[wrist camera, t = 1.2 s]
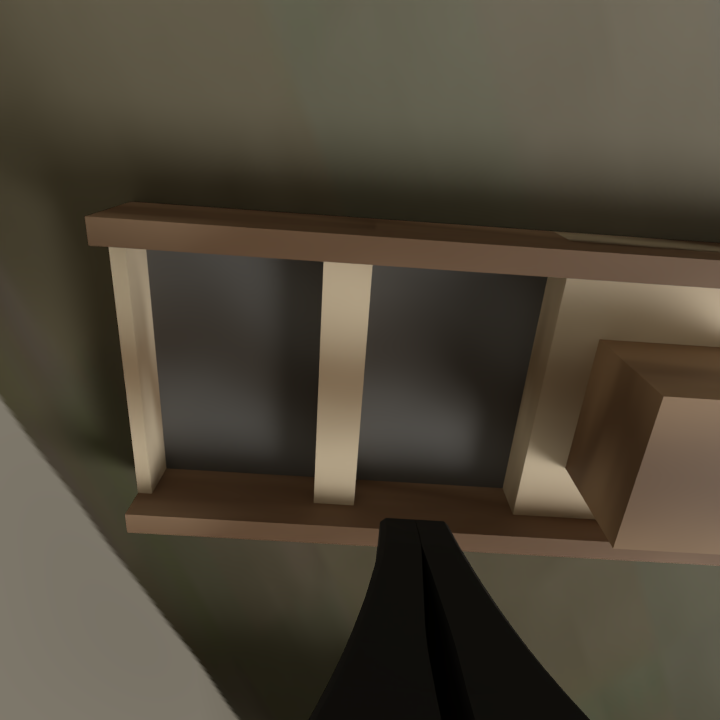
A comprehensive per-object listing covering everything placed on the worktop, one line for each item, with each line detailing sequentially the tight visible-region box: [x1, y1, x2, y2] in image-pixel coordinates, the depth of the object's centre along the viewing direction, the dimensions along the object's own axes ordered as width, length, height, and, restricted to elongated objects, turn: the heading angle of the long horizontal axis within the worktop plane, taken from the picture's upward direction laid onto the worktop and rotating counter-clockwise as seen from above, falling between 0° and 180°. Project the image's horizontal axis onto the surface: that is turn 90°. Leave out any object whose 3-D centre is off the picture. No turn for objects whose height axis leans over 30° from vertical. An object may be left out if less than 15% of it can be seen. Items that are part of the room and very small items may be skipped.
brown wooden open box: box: [85, 202, 720, 566], centre depth 18 cm, size 11×30×4 cm, turn 86°
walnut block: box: [565, 339, 720, 555], centre depth 16 cm, size 5×5×4 cm
